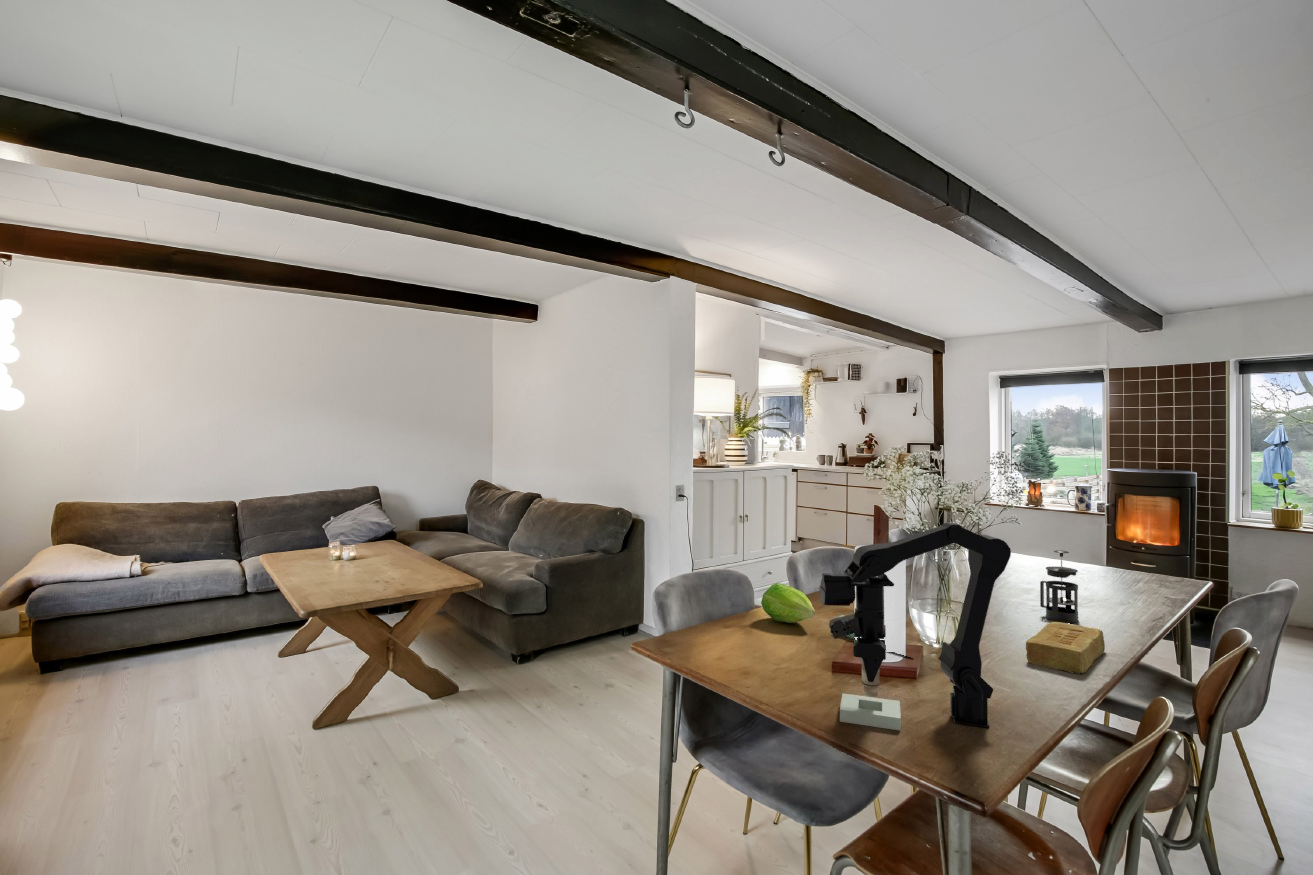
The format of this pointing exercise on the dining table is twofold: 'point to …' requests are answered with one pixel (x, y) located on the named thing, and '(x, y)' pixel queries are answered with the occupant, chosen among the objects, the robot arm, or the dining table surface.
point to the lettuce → (786, 604)
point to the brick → (1065, 647)
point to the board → (870, 711)
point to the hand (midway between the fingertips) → (870, 678)
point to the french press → (1055, 611)
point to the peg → (870, 684)
